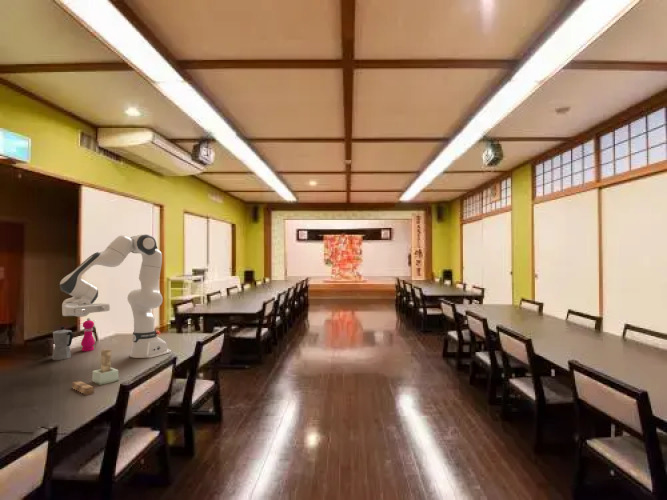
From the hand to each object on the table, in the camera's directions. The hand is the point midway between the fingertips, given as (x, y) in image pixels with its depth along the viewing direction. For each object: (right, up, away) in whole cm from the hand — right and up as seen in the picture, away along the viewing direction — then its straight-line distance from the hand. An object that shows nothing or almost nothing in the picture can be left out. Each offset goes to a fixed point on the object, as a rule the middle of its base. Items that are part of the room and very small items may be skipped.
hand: (93, 310), depth 193 cm
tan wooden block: (+11, -31, -9) cm, 34 cm away
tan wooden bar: (+9, -32, -22) cm, 40 cm away
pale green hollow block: (+11, -32, -9) cm, 35 cm away
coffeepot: (-36, -32, +30) cm, 57 cm away
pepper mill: (-34, -33, +50) cm, 69 cm away
